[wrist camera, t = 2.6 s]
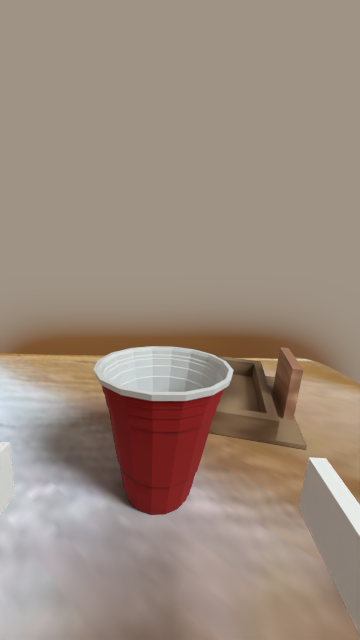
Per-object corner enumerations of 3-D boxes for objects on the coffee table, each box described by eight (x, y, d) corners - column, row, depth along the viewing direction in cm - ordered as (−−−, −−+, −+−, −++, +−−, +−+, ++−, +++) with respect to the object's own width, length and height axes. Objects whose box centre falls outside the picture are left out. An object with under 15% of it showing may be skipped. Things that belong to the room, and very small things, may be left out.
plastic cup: (193, 436, 31) (203, 336, 28) (240, 527, 21) (263, 387, 18) (94, 450, 28) (93, 339, 25) (93, 565, 18) (92, 403, 15)
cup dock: (128, 419, 33) (130, 362, 31) (161, 364, 50) (164, 325, 48) (305, 449, 30) (319, 389, 28) (277, 380, 47) (284, 339, 45)
